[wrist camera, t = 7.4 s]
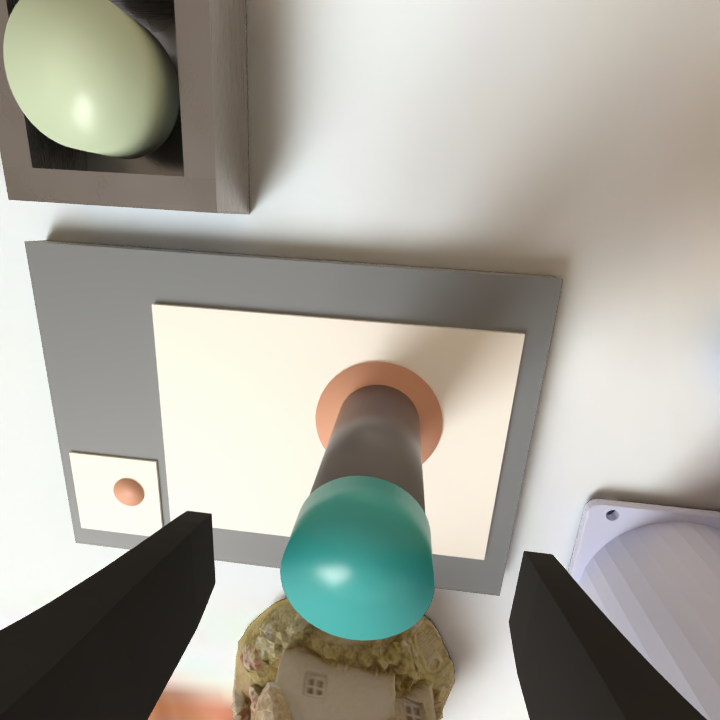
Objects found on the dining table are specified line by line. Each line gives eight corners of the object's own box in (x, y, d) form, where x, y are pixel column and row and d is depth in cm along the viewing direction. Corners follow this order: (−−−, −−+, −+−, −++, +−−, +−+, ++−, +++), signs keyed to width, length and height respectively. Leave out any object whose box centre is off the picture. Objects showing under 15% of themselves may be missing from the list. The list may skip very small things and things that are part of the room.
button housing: (245, -10, 14) (206, -67, 12) (249, 214, 17) (217, 212, 14) (46, -15, 15) (-39, -70, 12) (74, 203, 17) (8, 199, 14)
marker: (426, 386, 17) (444, 526, 9) (417, 465, 18) (425, 650, 10) (337, 377, 17) (281, 505, 9) (333, 456, 18) (279, 628, 10)
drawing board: (553, 276, 16) (565, 280, 15) (495, 578, 20) (500, 601, 19) (45, 240, 18) (17, 241, 16) (90, 528, 22) (71, 547, 21)
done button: (175, 16, 13) (135, -18, 11) (183, 162, 14) (149, 153, 12) (49, 13, 13) (-10, -22, 11) (68, 156, 15) (17, 145, 13)
